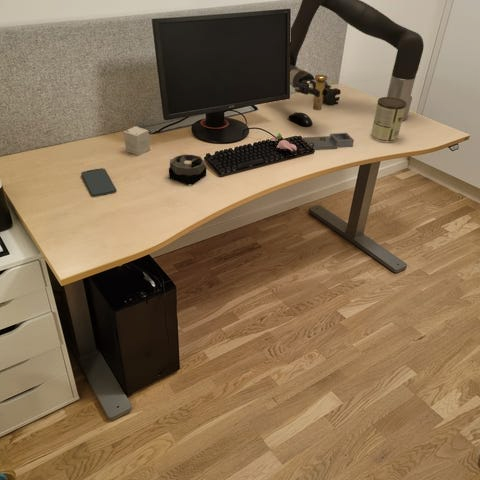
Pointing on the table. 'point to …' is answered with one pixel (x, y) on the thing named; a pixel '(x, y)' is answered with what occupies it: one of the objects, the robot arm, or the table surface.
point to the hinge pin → (320, 86)
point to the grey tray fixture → (330, 141)
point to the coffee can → (388, 119)
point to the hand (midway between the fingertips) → (323, 93)
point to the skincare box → (137, 140)
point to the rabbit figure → (283, 143)
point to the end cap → (332, 96)
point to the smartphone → (98, 182)
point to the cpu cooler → (187, 169)
